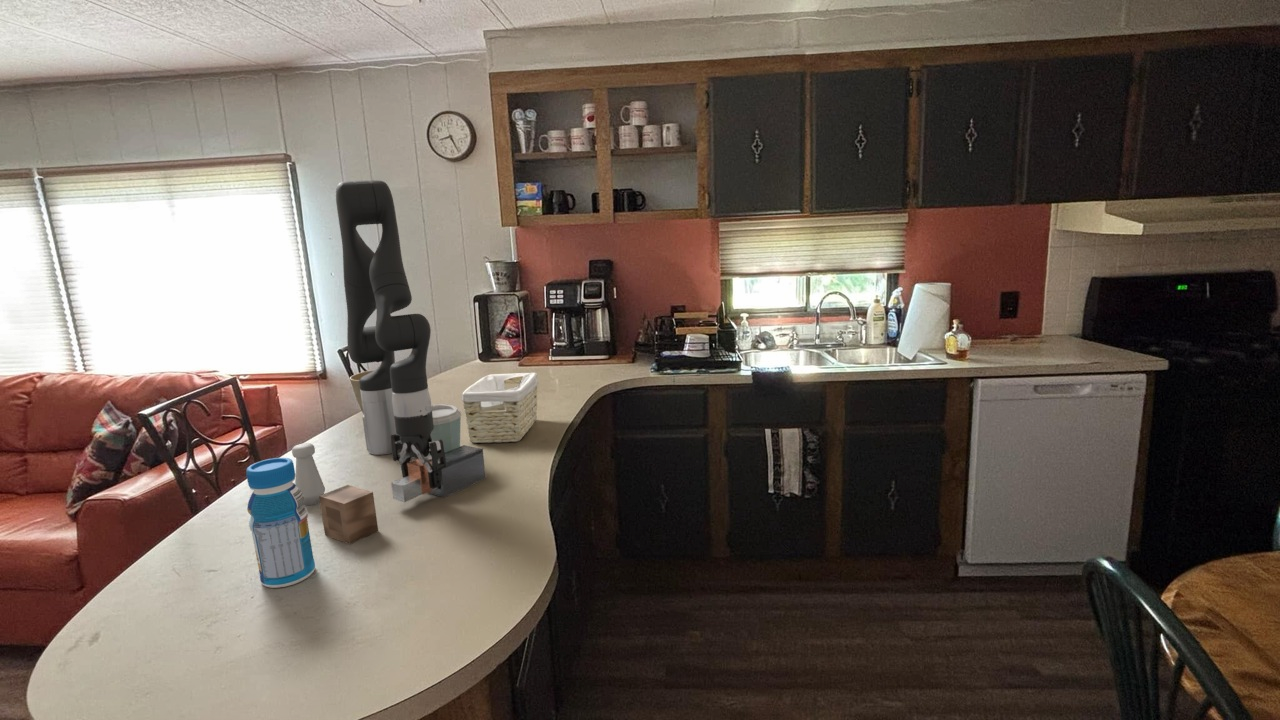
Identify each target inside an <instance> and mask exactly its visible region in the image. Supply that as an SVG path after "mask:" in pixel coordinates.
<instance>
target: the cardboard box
mask: <svg viewBox="0 0 1280 720" xmlns="http://www.w3.org/2000/svg"><path fill="white" fill-rule="evenodd" d="M319 500H320V502H319V503H320V504H319V506H320V512H321V518H322V524H323V530H324V535H325V536H327V537H330V538H332V539H335V540H336V541H337V540H338V541H341V542H343V543H346V544H348V545H352V544H353V543H356V542H358V541H360V540H362V539H364V538H367V537H368V536H371V535H373V534H375V533H377V532H378V531H379V525H378V518H377V512H376V511H377V510H376V503H375V498H374V492H373V491H370V490H368V489H363V488H360V487H356V486H353V485H350V484H347V485H344V486H341V487H338V488H336V489H333V490H331V491H329V492H326V493H325V492H324V494H323V495H320V496H319Z"/></svg>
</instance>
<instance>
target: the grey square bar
mask: <svg viewBox="0 0 1280 720" xmlns="http://www.w3.org/2000/svg"><path fill="white" fill-rule="evenodd" d="M429 462H430V464H431V465H432V463H431V461H429ZM407 466H408V473H409V476H407V477H404V478H403V477H402V478H400V479H397V480H395V481H393V482H391V483H390V485H391V493H392V499H393V500H395V501H398V502H402V503H406V502H409V501H411V500H413V499H416V498H417V497H419V496H422V495H425V494H429V493H428V492H430V491H432V490H434V489H432V488H430V485H429V477H428V472H429V471H428V469H427V468H426V466H425V464H422V463H421V462H420V460H419V459H417V458H416V459H415V460H414V459H413V460H412V461H411V462H409V463H407ZM440 486H441V483H440ZM440 486H439V487H440ZM437 488H438V487H437ZM435 489H436V488H435Z"/></svg>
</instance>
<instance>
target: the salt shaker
mask: <svg viewBox="0 0 1280 720" xmlns="http://www.w3.org/2000/svg"><path fill="white" fill-rule="evenodd" d="M291 453H292V456H293V457H294V458H296V459H295V480H294V481H295V483H294V484H295V485H296V486H297V487H298V488H299V489H300V490H301V492H302V493H303V495H304V501H303V505H304V506H305V507H306V506H315V505H316V504H319V503H320V500H319V496H320V495H323V494H325V492H326V487H325V484H324V482H323V479H322V477H321V475H320V471H319V470H318V467H317V465H316V462H315V459H314V456H313V455H314V454H315V453H316V447H315V445H314V444H312V443H309V442H305V443H299V444H297V445H294V446H293V447H292V449H291Z"/></svg>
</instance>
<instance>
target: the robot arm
mask: <svg viewBox="0 0 1280 720" xmlns="http://www.w3.org/2000/svg"><path fill="white" fill-rule="evenodd" d="M335 202H336V210H337V217H338V224H339V231H340V239H341V247H342V267H343V284H344V285H343V287H344V292H345V293H344V294H345V302H346V309H347V310H346V311H347V326H346V327H347V332H346V333H347V334H346V335H347V351H348V352H347V353H348V354H349V358H350V359H351V361H352V363H355V364H370V363H377V362H381V363H380V364H379V366H378V367H377V368H375V369H374V371H373V372H371V373H369V374H367V375H365V376H363V377H362V378H361V379H360V380H359V385H360V392H361V399H362V406H363V413H364V415H362V422H363V423H362V425H363V431H364V437H365V445H366V450H367V451H368V453H369V454H371V455H377V456H378V455H379V456H380V455H382V456H383V455H389V454H392V459H393V461H394V462H398V464H399V465H400V467H401V476H402V478H404V477H407V476H409V473H408V466H407V463H409V462H412V461H413V459H414V458H415V459H416V460H417V459H419V460H420V462H421V463H422V464H425V466H426V468H427V469H428V471H429V472H428V477H429V485H430V488H432V489H435V488H437V487H439V486H440V483H441V481H440V472H439V470H440V469H442V468H445V467H446V466H447V465H446V458H445V452H444V446H443V441H442V440H438V441H433V440H432V438H431V432H432V431H433V429H434V424H433V415H432V406H431V405H432V401H431V399H432V398H431V395H430V391H429V387H428V383H429V382H428V376H427V359H428V357H427V356H428V352H429V345H430V340H431V325H430V322H429V320H428V319H427V317H425V316H424V314H421V313H410V314H402V315H401V314H400V315H391V314H393V313H395V312H398V311H401V310H404V309H406V308H408V307H409V305H411V303H412V299H413V296H412V294H411V293H412V292H411V289H410V285H409V282H408V278H407V274H406V272H405V268H404V263H403V258H402V257H403V256H402V250H401V241H400V235H399V234H400V233H399V227H398V221H397V214H396V208H395V202H394V198H393V194H392V192H391V189H390V187H389V185H388V184H387V183H386V182H385V181H383V180H379V179H377V180H346V181H341V182H339V183H338V184H337V185H336V189H335ZM366 225H367V226H368V225H381V228H382V229H381V232H382V233H381V238H380V241H379V243H378V246H377V248H376V250H375V251H373V250H372V249H371V248H370V247H369V246H368V245H367V243H365V241H364V240H363V238H362V236H361V235H360V234H359V232H358V230H357V228H358V227H357V226H366ZM375 311H376V318H375V319H376V321H375V326H373V325H372V326H366V323H367V321H368V319H369V318H370V317H371V316H372V315H373V313H374V312H375ZM410 349H411V352H410V354H409V355H408V356H407V357H405V358H403V359H402V360H399V361H396V360H395V359H396V358H395V352H397V351H404V350H410ZM363 413H362V414H363ZM398 453H399V454H398ZM429 453H430V455H431V456H429V457H427V456H428V454H429ZM439 458H440V462H441V463H439V461H438V459H439ZM429 461H432V463H433V466H432V465H431V464H430V462H429Z"/></svg>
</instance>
